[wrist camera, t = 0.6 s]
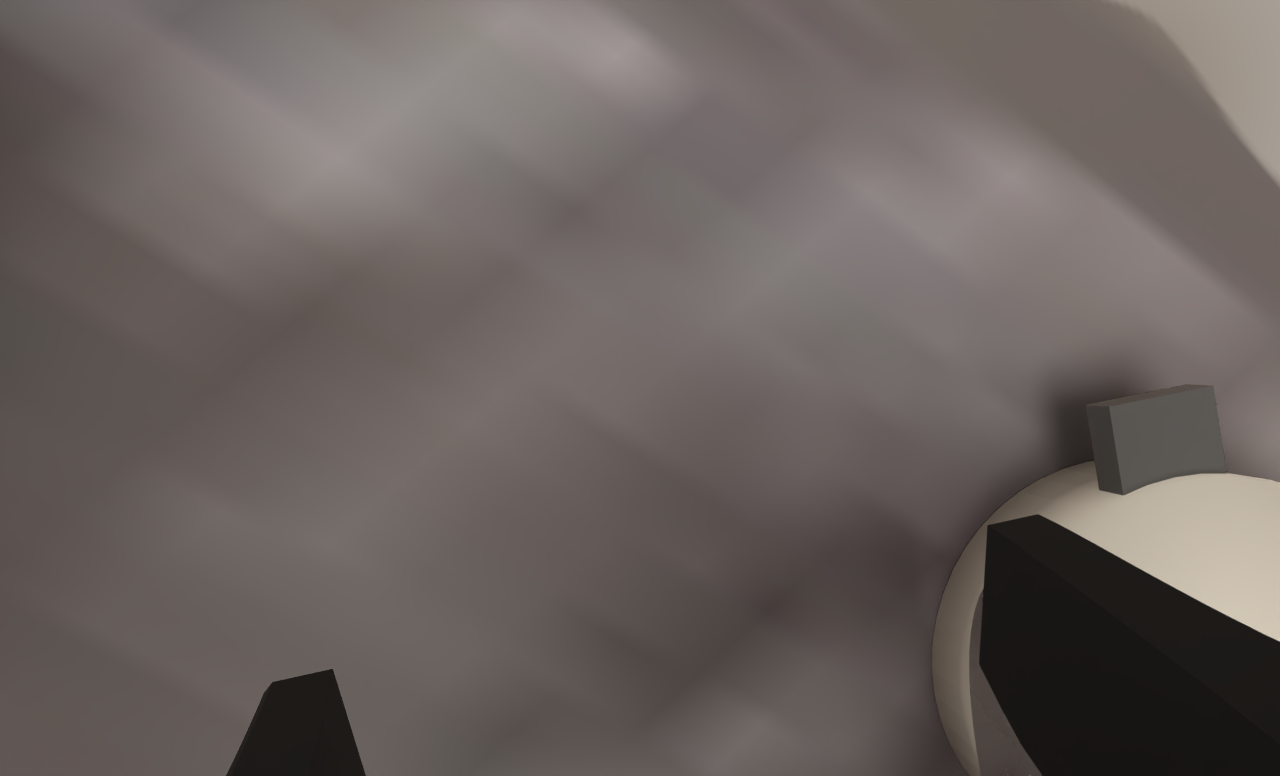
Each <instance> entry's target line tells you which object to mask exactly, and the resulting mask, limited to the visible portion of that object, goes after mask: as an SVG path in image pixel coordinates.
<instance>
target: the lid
mask: <svg viewBox="0 0 1280 776" xmlns="http://www.w3.org/2000/svg"><path fill="white" fill-rule="evenodd" d="M983 589H984V588H983ZM982 605H983V590H982V592H981V594H980V595H979V598H978V602H977V605H976V608H975V611H974V616H973V621H972V627H971V636H970V648H969V682H970V699H971V710H972V719H973V729H974V736H975V742H976V749H977V756H978V762H979V767H980V773H981V776H1042V774H1041V773H1040V772H1039V770H1038V769H1037V767H1036V766H1035V764H1034V763H1033V761H1032V760H1031V758H1030V757H1029V756H1028V754H1027V753H1026V751H1025V750H1024V748H1023V747H1022V745H1021V744H1020V742H1019V740H1018V738H1017V736H1016V735H1015V733H1014V731H1013V729H1012V727H1011V725H1010V723H1009V722H1008V720H1007V718H1006V716H1005V714H1004V712H1003V711H1002V709H1001V707H1000V705H999V703H998V701H997V699H996V697H995V695H994V693H993V691H992V689H991V687H990V685H989V683H988V681H987V679H986V677H985V675H984V673H983V671H982V669H981V667H980V665H979V654H980V638H981V621H982Z"/></svg>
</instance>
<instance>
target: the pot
mask: <svg viewBox="0 0 1280 776" xmlns="http://www.w3.org/2000/svg"><path fill="white" fill-rule="evenodd" d="M1086 412H1087V418H1088V424H1089V430H1090V436H1091V443H1092V449H1093V455H1094V461H1089V462H1085V463H1081V464H1078V465H1074V466H1071V467H1067V468H1064V469H1061V470H1059V471H1057V472H1054V473H1052V474H1050V475H1048V476H1045V477H1043V478H1041V479H1039V480H1037V481H1036V482H1034V483H1033V484H1031V485H1029V486H1028V487H1026V488H1024V489H1023V490H1021V491H1019V492H1018V493H1017V494H1016V495H1014V496H1013V497H1012V498H1011V499H1009V500H1008V501H1007V502H1005V503H1004V504H1003V505H1002V506H1000V507H999V508H998V509H997V510H996V511H995V512H994V513H993V515H992V516H991V517H990V518H989V519H988V520H987V521H986V522H985V523H984V524H983V525H982V526H981V527H980V529H979V530H978V531H977V533H976V534H975V535H974V537H973V538H972V539H971V541H970V542H969V543H968V545H967V546H966V548H965V549H964V551H963V553H962V555H961V556H960V558H959V560H958V562H957V563H956V565H955V567H954V569H953V571H952V573H951V576H950V578H949V580H948V583H947V585H946V588H945V590H944V592H943V596H942V599H941V603H940V606H939V610H938V614H937V617H936V623H935V630H934V637H933V643H932V676H933V685H934V695H935V699H936V703H937V708H938V712H939V716H940V720H941V723H942V725H943V728H944V731H945V733H946V736H947V739H948V741H949V744H950V746H951V747H952V749H953V751H954V753H955V755H956V757H957V758H958V760H959V762H960V764H961V766H962V767H963V768H964V770H965V771H966V772H967V774H968V775H969V776H981V773H980V767H979V762H978V756H977V749H976V742H975V736H974V729H973V719H972V710H971V699H970V682H969V648H970V636H971V627H972V621H973V616H974V611H975V608H976V605H977V602H978V598H979V595H980V594H981V592H982V590H983V588H984V573H985V556H986V540H987V525H991V524H995V523H1000V522H1004V521H1009V520H1013V519H1018V518H1022V517H1027V516H1031V515H1036V514H1039V515H1041V516H1043V517H1045V518H1047V519H1049V520H1051V521H1053V522H1055V523H1057V524H1059V525H1061V526H1063V527H1065V528H1067V529H1069V530H1071V531H1072V532H1074V533H1076V534H1078V535H1080V536H1082V537H1083V538H1085V539H1087V540H1089V541H1091V542H1093V543H1094V544H1096V545H1098V546H1100V547H1102V548H1103V549H1105V550H1107V551H1109V552H1111V553H1112V554H1114V555H1116V556H1118V557H1120V558H1121V559H1123V560H1125V561H1127V562H1129V563H1130V564H1132V565H1134V566H1136V567H1138V568H1139V569H1141V570H1143V571H1145V572H1147V573H1149V574H1150V575H1152V576H1154V577H1156V578H1158V579H1159V580H1161V581H1163V582H1165V583H1167V584H1169V585H1170V586H1172V587H1174V588H1176V589H1178V590H1180V591H1182V592H1183V593H1185V594H1187V595H1189V596H1191V597H1193V598H1195V599H1197V600H1198V601H1200V602H1202V603H1204V604H1206V605H1208V606H1210V607H1212V608H1214V609H1216V610H1218V611H1219V612H1221V613H1223V614H1225V615H1227V616H1229V617H1231V618H1233V619H1235V620H1237V621H1239V622H1241V623H1243V624H1245V625H1247V626H1249V627H1251V628H1253V629H1255V630H1257V631H1259V632H1261V633H1263V634H1265V635H1267V636H1269V637H1271V638H1273V639H1276V640H1278V641H1280V483H1279V482H1276V481H1273V480H1268V479H1262V478H1256V477H1250V476H1244V475H1237V474H1231V473H1227V472H1226V465H1225V459H1224V452H1223V446H1222V440H1221V433H1220V427H1219V420H1218V414H1217V407H1216V401H1215V394H1214V388H1213V386H1208V385H1181V386H1176V387H1171V388H1166V389H1161V390H1156V391H1151V392H1146V393H1141V394H1136V395H1131V396H1126V397H1121V398H1116V399H1111V400H1107V401H1102V402H1097V403H1092V404H1087V405H1086Z"/></svg>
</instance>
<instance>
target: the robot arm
mask: <svg viewBox="0 0 1280 776" xmlns="http://www.w3.org/2000/svg"><path fill="white" fill-rule="evenodd" d="M979 665H980V667H981V669H982V671H983V673H984V675H985V677H986V679H987V681H988V683H989V685H990V687H991V689H992V691H993V693H994V695H995V697H996V699H997V701H998V703H999V705H1000V707H1001V709H1002V711H1003V712H1004V714H1005V716H1006V718H1007V720H1008V722H1009V723H1010V725H1011V727H1012V729H1013V731H1014V733H1015V735H1016V736H1017V738H1018V740H1019V742H1020V744H1021V745H1022V747H1023V748H1024V750H1025V751H1026V753H1027V754H1028V756H1029V757H1030V758H1031V760H1032V761H1033V763H1034V764H1035V766H1036V767H1037V769H1038V770H1039V772H1040V773H1041V774H1042V776H1280V641H1278V640H1276V639H1273V638H1271V637H1269V636H1267V635H1265V634H1263V633H1261V632H1259V631H1257V630H1255V629H1253V628H1251V627H1249V626H1247V625H1245V624H1243V623H1241V622H1239V621H1237V620H1235V619H1233V618H1231V617H1229V616H1227V615H1225V614H1223V613H1221V612H1219V611H1218V610H1216V609H1214V608H1212V607H1210V606H1208V605H1206V604H1204V603H1202V602H1200V601H1198V600H1197V599H1195V598H1193V597H1191V596H1189V595H1187V594H1185V593H1183V592H1182V591H1180V590H1178V589H1176V588H1174V587H1172V586H1170V585H1169V584H1167V583H1165V582H1163V581H1161V580H1159V579H1158V578H1156V577H1154V576H1152V575H1150V574H1149V573H1147V572H1145V571H1143V570H1141V569H1139V568H1138V567H1136V566H1134V565H1132V564H1130V563H1129V562H1127V561H1125V560H1123V559H1121V558H1120V557H1118V556H1116V555H1114V554H1112V553H1111V552H1109V551H1107V550H1105V549H1103V548H1102V547H1100V546H1098V545H1096V544H1094V543H1093V542H1091V541H1089V540H1087V539H1085V538H1083V537H1082V536H1080V535H1078V534H1076V533H1074V532H1072V531H1071V530H1069V529H1067V528H1065V527H1063V526H1061V525H1059V524H1057V523H1055V522H1053V521H1051V520H1049V519H1047V518H1045V517H1043V516H1041V515H1039V514H1036V515H1031V516H1027V517H1022V518H1018V519H1013V520H1009V521H1004V522H1000V523H995V524H991V525H987V540H986V556H985V573H984V589H983V605H982V621H981V638H980V654H979ZM226 776H366V775H365V772H364V769H363V765H362V762H361V759H360V756H359V752H358V749H357V746H356V743H355V740H354V736H353V733H352V730H351V727H350V723H349V720H348V717H347V714H346V710H345V707H344V704H343V701H342V697H341V694H340V691H339V688H338V685H337V681H336V678H335V675H334V672H333V669H330V670H326V671H321V672H317V673H312V674H308V675H303V676H299V677H294V678H289V679H285V680H280V681H276V682H272V684H271V685H270V686H269V687H268V689H267V690H266V691H265V693H264V694H263V697H262V699H261V701H260V704H259V706H258V708H257V710H256V713H255V715H254V717H253V719H252V722H251V724H250V726H249V728H248V731H247V733H246V735H245V737H244V739H243V742H242V744H241V746H240V748H239V750H238V752H237V754H236V756H235V759H234V761H233V763H232V765H231V767H230V769H229V771H228V773H227V775H226Z"/></svg>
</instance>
